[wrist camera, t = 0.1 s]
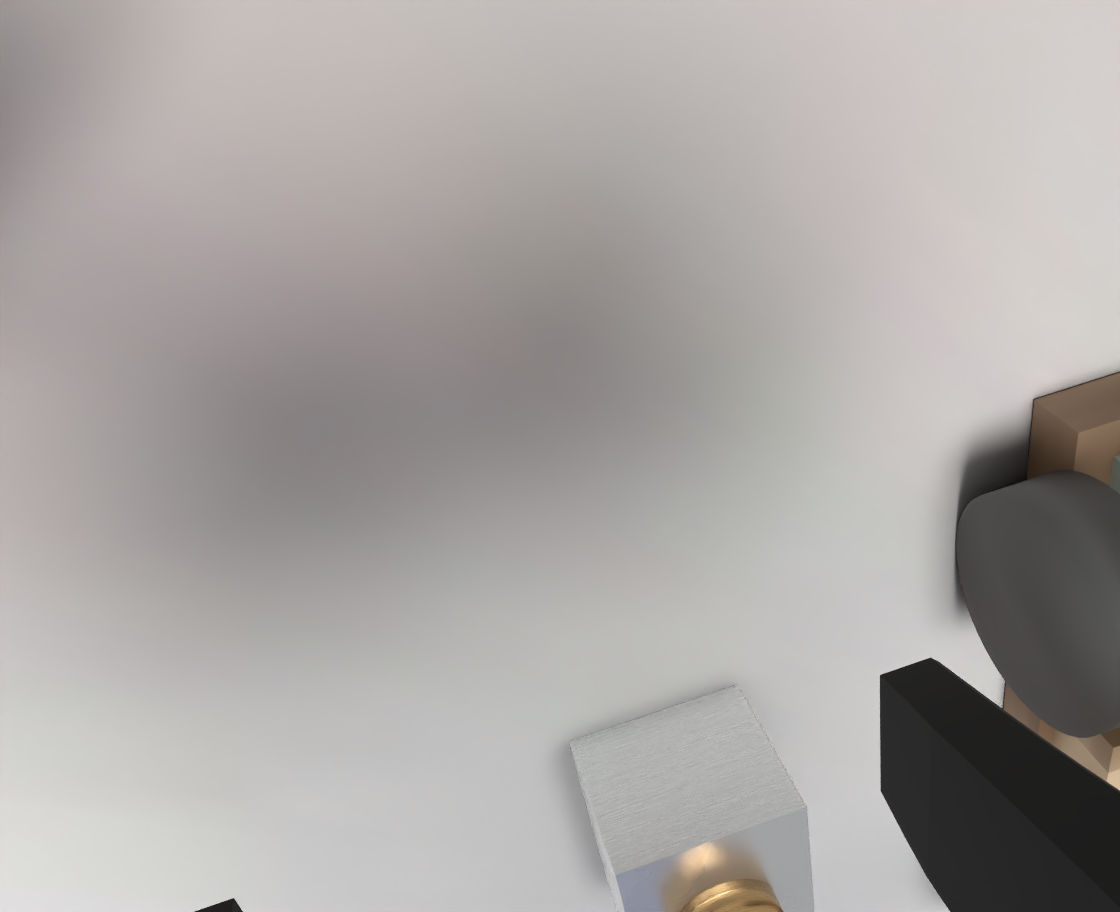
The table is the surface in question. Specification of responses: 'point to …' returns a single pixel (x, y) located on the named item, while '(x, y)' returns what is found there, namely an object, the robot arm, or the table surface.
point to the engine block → (696, 811)
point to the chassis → (1056, 577)
